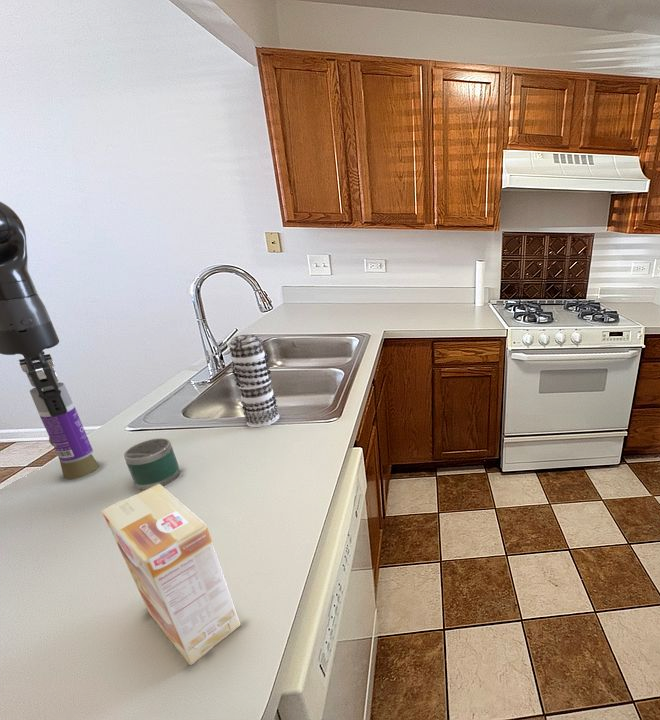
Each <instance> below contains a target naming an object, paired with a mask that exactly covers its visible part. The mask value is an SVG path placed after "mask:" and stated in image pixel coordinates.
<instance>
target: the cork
mask: <svg viewBox="0 0 660 720" xmlns="http://www.w3.org/2000/svg"><path fill="white" fill-rule="evenodd" d="M48 440H49V441H48V442H49V443H50V445H51V446H52V447H54V446H53V444H52V441H51V439H50V437H49V436H48ZM58 460H59V464H60V469H61V472H62V475H63V478H64V479H66V480H73V479H74V480H75V479H79V478H82V477H85V476H88V475H90V474H91V473H93V472H95V471H96V470H97V469H98V468H99V466H100V465H99V463H98V461H97V460H96V458H95V457H94V455H93V453H92V454H91V455H90V456H88V457H86V458H84V459H82V460H79V461H76V462H71V463H62V462H61V461H60V459H59V458H58Z"/></svg>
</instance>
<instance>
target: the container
mask: <svg viewBox="0 0 660 720" xmlns="http://www.w3.org/2000/svg"><path fill="white" fill-rule="evenodd" d="M56 384H57V386H58V389H59V390H61V397H62V400H63V402H64V404H65V407H66V409H67V413H65V414H62V415H58V416H51V415H50V413H49V411H48V409H47V407H46V404H45V402H44V400H43V399H41V398H40V397H39V393H38V391H37V388H36V387H33V388H31V389H30V390H29V393H30V396H31V398H32V401H33V403H34V406H35V408H36V410H37V413H38V415H39V418H40V420H41V422H42V424H43V426H44V429H45V431H46V433H47V435H48V438H49V437H50V439H51V441H52V444H53V446H52V447H53V448H54V450H55V452H56V454H57V457H58V460H59V459H60V460H59V462H60V461H61V462H62V463H71V462H76V461H79V460H82V459H84V458H86V457H88V456H90V455H91V454H92V455H93V453H94V449H93V447H92V445H91V441H90V439H89V437H88V435H87V433H86V430H85V428H84V425H83V423H82V421H81V418H80V416H79V414H78V411H77V409H76V407H75V404H74V402H73V400H72V398H71V396H70V393H69V391H68V390H67V387H66V385H65V383H64V382H59V381H58V382H57V383H56ZM52 389H54V387H53V386H48V387H44V388H42V391H47V390H52Z"/></svg>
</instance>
